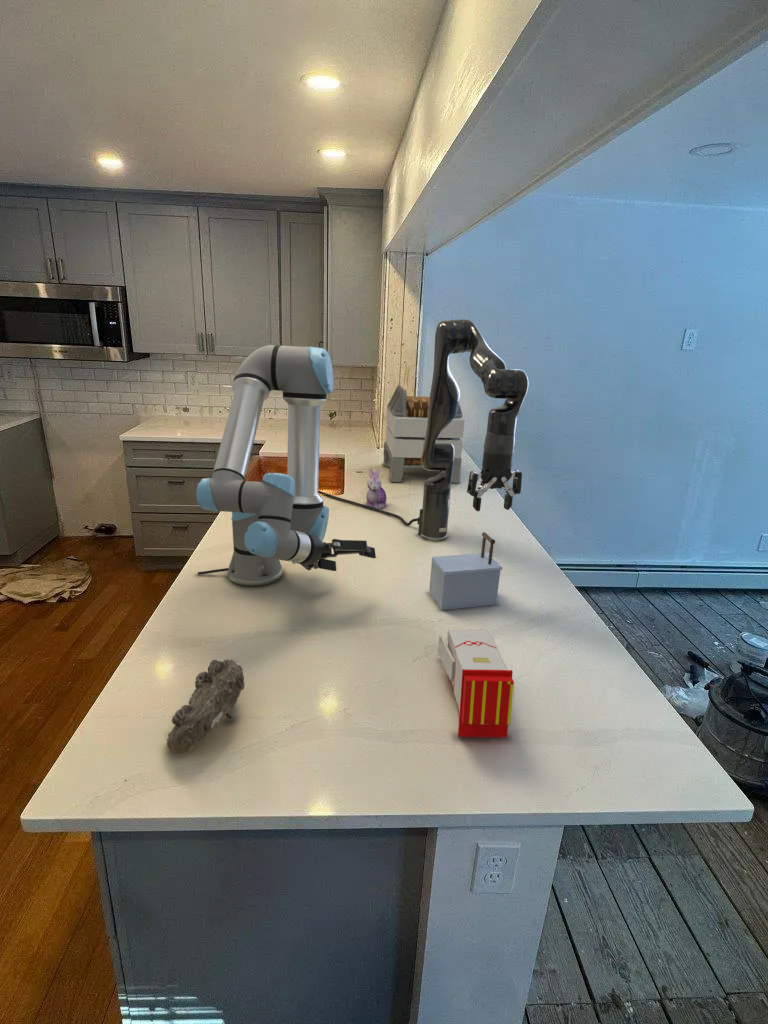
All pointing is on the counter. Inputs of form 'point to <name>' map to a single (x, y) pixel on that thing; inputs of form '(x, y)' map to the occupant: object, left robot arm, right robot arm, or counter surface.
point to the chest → (463, 588)
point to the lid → (469, 561)
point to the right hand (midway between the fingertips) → (491, 509)
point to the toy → (478, 682)
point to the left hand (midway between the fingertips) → (354, 559)
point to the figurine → (375, 491)
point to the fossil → (206, 705)
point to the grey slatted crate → (415, 434)
